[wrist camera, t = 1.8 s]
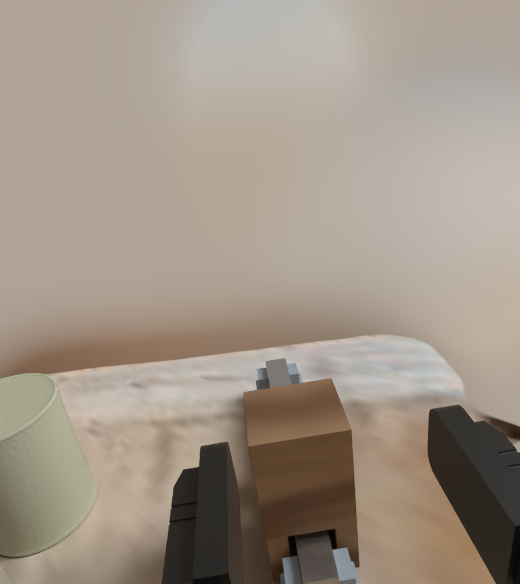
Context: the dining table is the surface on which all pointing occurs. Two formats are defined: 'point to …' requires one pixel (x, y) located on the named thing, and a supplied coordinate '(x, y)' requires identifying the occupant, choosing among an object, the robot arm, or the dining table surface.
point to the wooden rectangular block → (302, 467)
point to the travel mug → (4, 576)
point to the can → (39, 468)
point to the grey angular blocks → (345, 567)
